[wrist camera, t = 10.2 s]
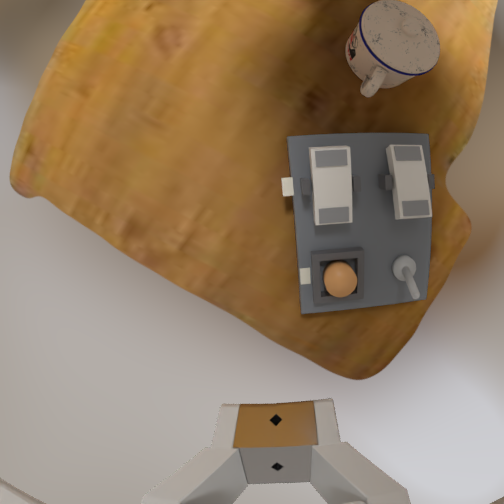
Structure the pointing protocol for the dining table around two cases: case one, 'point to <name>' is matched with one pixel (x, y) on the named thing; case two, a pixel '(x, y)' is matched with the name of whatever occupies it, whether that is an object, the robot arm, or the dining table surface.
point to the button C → (339, 278)
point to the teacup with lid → (391, 45)
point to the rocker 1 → (331, 184)
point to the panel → (359, 226)
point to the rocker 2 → (409, 181)
